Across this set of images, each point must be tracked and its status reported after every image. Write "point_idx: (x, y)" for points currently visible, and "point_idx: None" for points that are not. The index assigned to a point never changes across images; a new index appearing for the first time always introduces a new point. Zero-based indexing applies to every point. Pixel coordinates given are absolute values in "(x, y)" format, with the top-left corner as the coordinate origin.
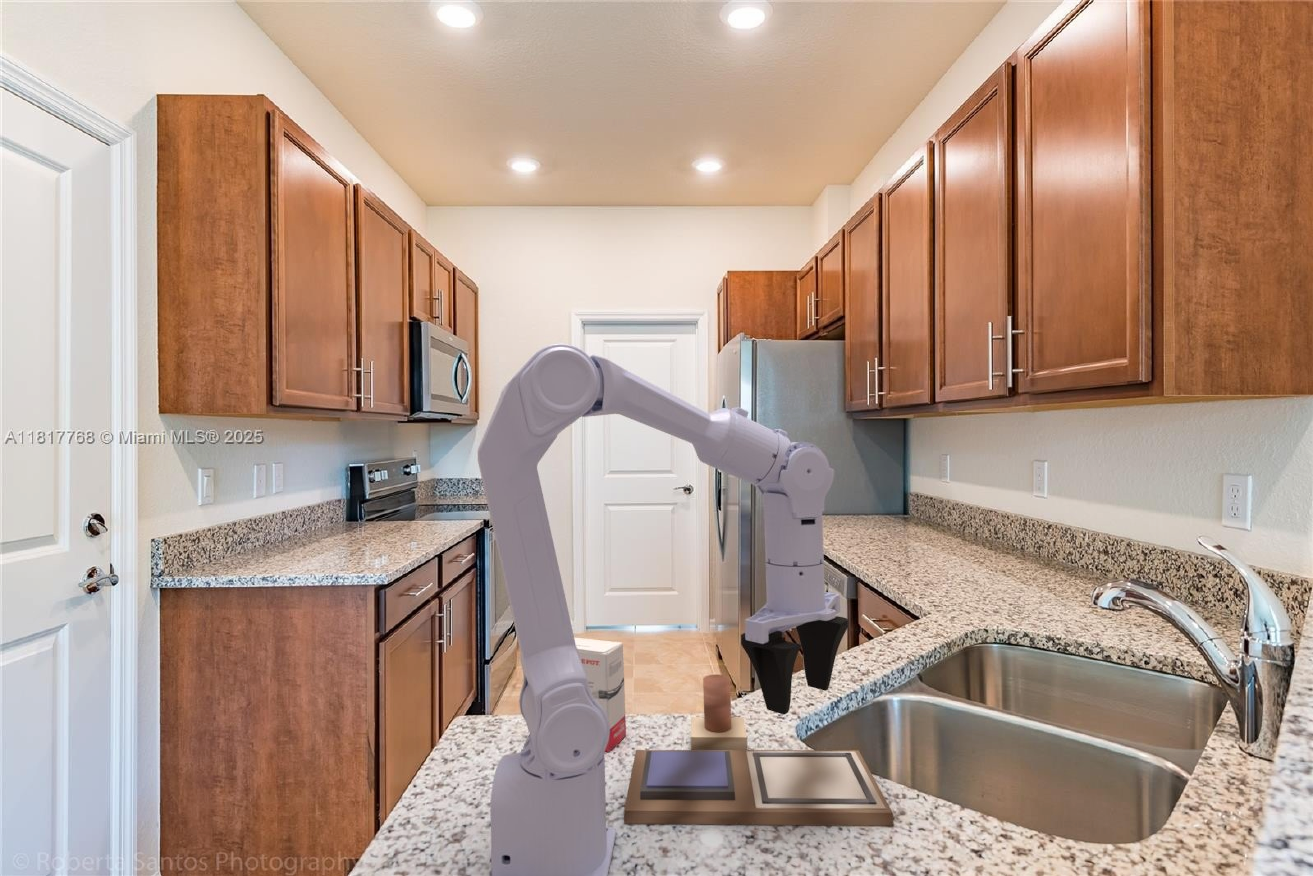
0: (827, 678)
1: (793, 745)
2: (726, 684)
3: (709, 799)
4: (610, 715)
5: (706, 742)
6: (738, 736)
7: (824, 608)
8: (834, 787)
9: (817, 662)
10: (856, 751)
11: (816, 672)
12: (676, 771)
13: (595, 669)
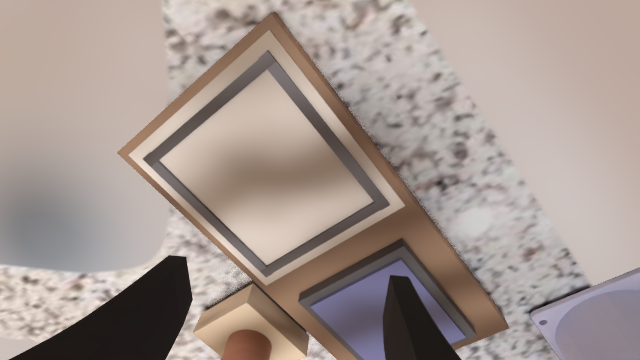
0: (165, 277)
1: (169, 245)
2: None
3: (423, 264)
4: None
5: (291, 335)
6: (253, 312)
7: None
8: (268, 134)
9: (147, 339)
10: (123, 154)
11: (166, 314)
12: None
13: None
